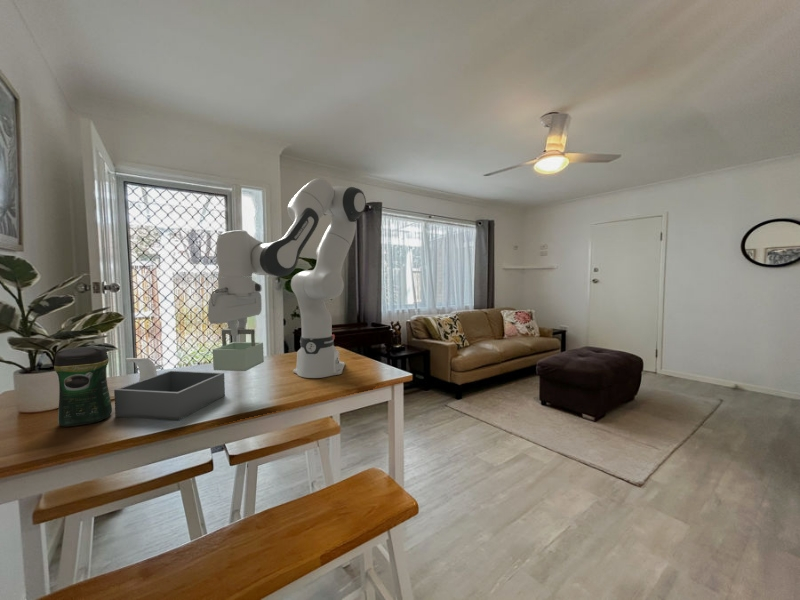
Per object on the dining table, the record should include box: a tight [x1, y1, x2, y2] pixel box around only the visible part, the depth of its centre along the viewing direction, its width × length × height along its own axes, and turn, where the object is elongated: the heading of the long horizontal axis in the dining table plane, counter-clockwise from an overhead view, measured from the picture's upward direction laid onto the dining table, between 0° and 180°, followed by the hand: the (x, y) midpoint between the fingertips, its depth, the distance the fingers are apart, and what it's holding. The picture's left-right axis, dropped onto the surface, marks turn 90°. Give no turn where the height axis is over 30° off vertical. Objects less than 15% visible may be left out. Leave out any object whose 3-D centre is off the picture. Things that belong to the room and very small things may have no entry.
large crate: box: [113, 370, 226, 421], centre depth 93 cm, size 18×18×7 cm
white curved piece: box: [125, 357, 158, 382], centre depth 101 cm, size 5×6×12 cm
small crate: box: [212, 328, 265, 372], centre depth 97 cm, size 10×10×11 cm
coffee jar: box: [53, 346, 113, 427], centre depth 83 cm, size 10×8×19 cm
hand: (238, 334), depth 97 cm, fingers closed on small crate
